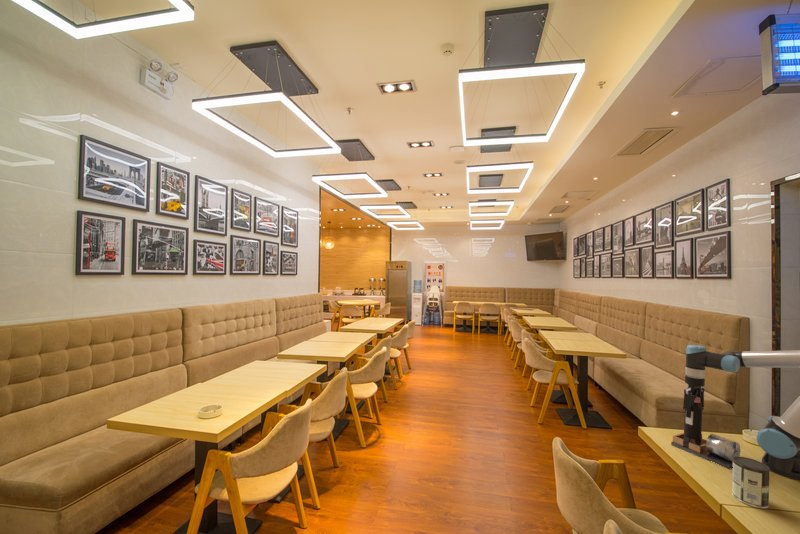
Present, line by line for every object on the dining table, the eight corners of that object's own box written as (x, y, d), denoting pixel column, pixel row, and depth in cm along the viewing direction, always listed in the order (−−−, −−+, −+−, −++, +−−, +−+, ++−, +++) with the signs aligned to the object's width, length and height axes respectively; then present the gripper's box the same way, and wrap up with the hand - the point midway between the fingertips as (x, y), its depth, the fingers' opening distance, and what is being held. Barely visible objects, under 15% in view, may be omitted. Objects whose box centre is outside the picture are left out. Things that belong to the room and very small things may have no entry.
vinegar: (680, 434, 177) (682, 395, 177) (688, 432, 180) (690, 393, 180) (696, 441, 171) (698, 399, 171) (704, 439, 174) (705, 398, 174)
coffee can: (754, 493, 139) (755, 458, 139) (776, 511, 129) (778, 472, 129) (724, 489, 141) (725, 454, 141) (743, 506, 131) (745, 468, 131)
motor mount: (743, 463, 162) (744, 440, 163) (728, 469, 157) (729, 445, 157) (685, 440, 183) (686, 420, 183) (671, 444, 178) (672, 424, 178)
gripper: (696, 372, 183) (694, 417, 183) (675, 376, 175) (673, 422, 175) (714, 377, 176) (712, 423, 176) (692, 380, 168) (691, 429, 168)
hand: (693, 422), depth 175 cm, fingers closed on vinegar, 6 cm apart
